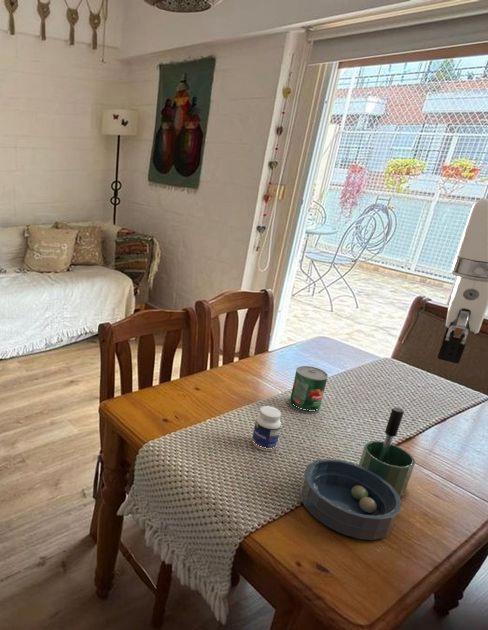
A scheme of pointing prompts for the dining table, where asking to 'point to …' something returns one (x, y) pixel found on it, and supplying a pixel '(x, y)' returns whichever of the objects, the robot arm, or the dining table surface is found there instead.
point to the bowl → (349, 499)
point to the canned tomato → (308, 389)
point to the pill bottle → (267, 428)
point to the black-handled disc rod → (391, 431)
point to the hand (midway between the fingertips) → (449, 352)
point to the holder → (389, 464)
